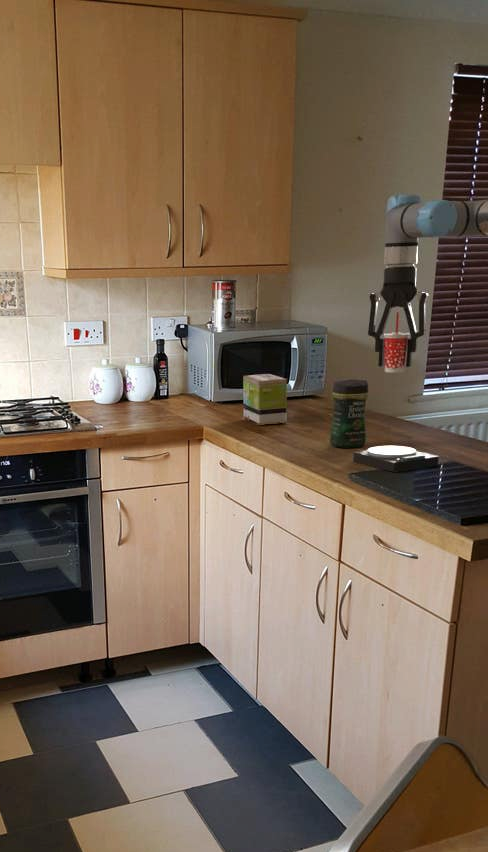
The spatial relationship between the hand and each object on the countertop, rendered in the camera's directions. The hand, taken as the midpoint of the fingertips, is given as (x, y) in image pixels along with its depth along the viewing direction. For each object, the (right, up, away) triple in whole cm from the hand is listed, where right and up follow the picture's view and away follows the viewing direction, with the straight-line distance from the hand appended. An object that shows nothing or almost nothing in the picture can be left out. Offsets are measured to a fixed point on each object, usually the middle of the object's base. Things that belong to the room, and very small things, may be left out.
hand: (394, 365), depth 215 cm
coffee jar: (-5, -15, +33) cm, 37 cm away
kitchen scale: (+2, -23, +9) cm, 25 cm away
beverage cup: (0, -1, +1) cm, 2 cm away
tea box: (-23, 0, +76) cm, 79 cm away
